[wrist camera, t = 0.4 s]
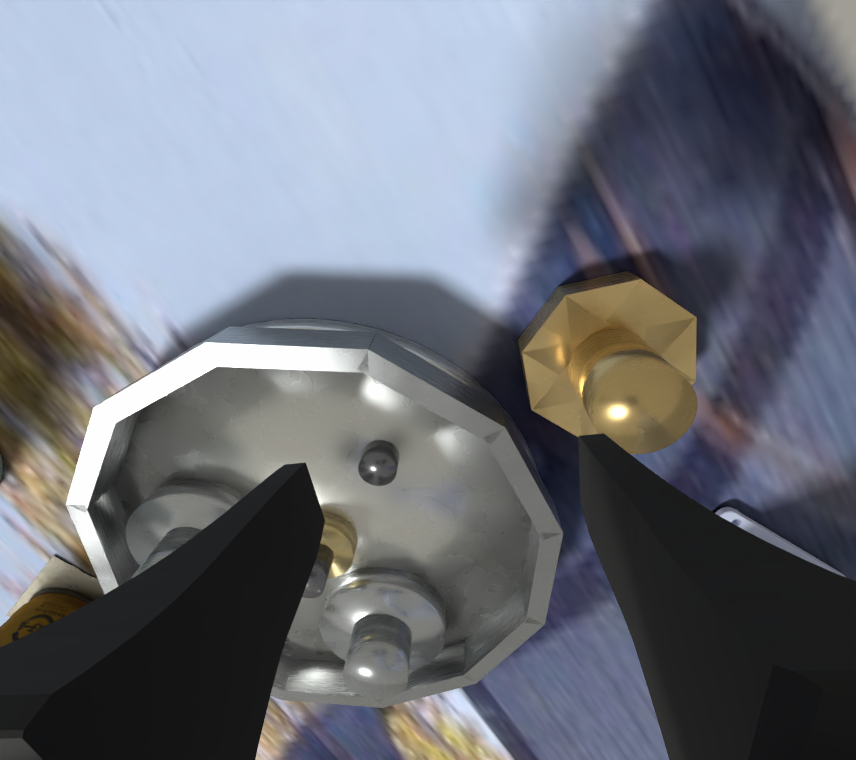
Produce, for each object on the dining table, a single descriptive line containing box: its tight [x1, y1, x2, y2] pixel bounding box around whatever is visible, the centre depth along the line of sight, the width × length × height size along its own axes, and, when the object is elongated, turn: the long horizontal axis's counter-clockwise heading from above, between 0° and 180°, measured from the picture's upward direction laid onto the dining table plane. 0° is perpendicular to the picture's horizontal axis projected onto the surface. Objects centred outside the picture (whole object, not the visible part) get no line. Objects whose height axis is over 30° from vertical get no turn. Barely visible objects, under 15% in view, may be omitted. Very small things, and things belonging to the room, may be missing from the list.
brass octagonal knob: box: [518, 271, 697, 454], centre depth 18 cm, size 7×7×6 cm
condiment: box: [0, 556, 105, 647], centre depth 25 cm, size 7×8×12 cm
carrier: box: [66, 318, 563, 708], centre depth 23 cm, size 24×24×6 cm
